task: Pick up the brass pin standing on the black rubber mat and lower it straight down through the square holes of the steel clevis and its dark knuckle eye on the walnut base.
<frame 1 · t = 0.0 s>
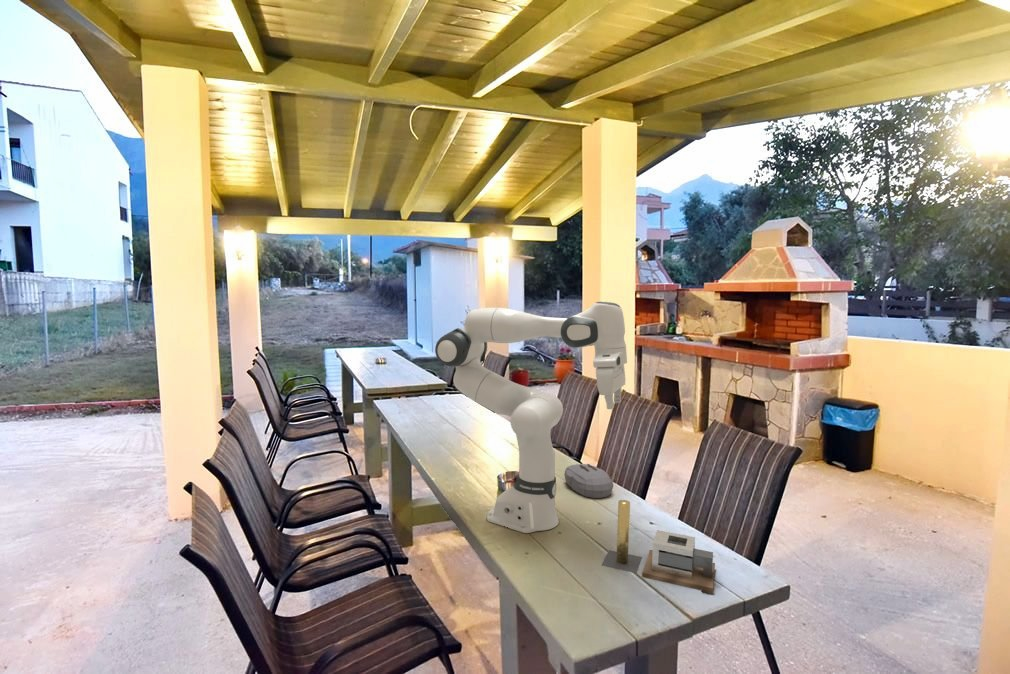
hand: (614, 405, 150), 39 cm above the table, tool pointing down, fingers open, 8 cm apart
walnut base: (675, 572, 134), on the table
brass pin: (623, 531, 137), on the rubber mat
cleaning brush: (589, 490, 191), on the table
rubber mat: (622, 562, 138), on the table
steel clevis: (682, 555, 133), on the walnut base, point 5 cm above the table
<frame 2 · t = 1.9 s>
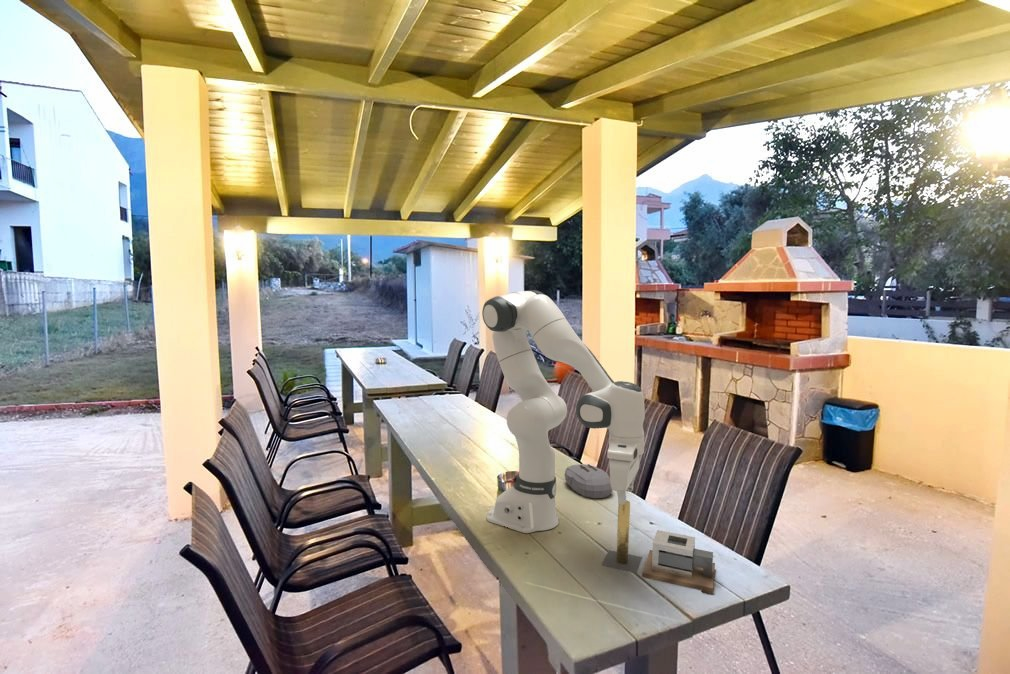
hand: (625, 496, 137), 18 cm above the table, tool pointing down, fingers open, 8 cm apart
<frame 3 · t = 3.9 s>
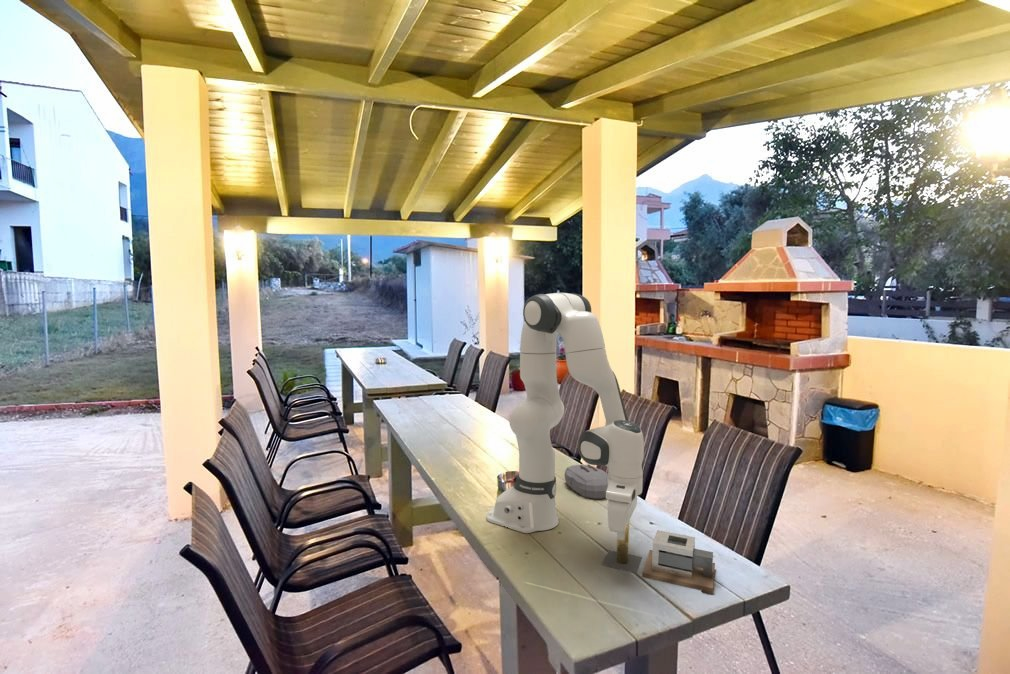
hand: (623, 535, 138), 8 cm above the table, tool pointing down, fingers closed on brass pin, 3 cm apart
brass pin: (623, 531, 138), on the rubber mat, touching gripper
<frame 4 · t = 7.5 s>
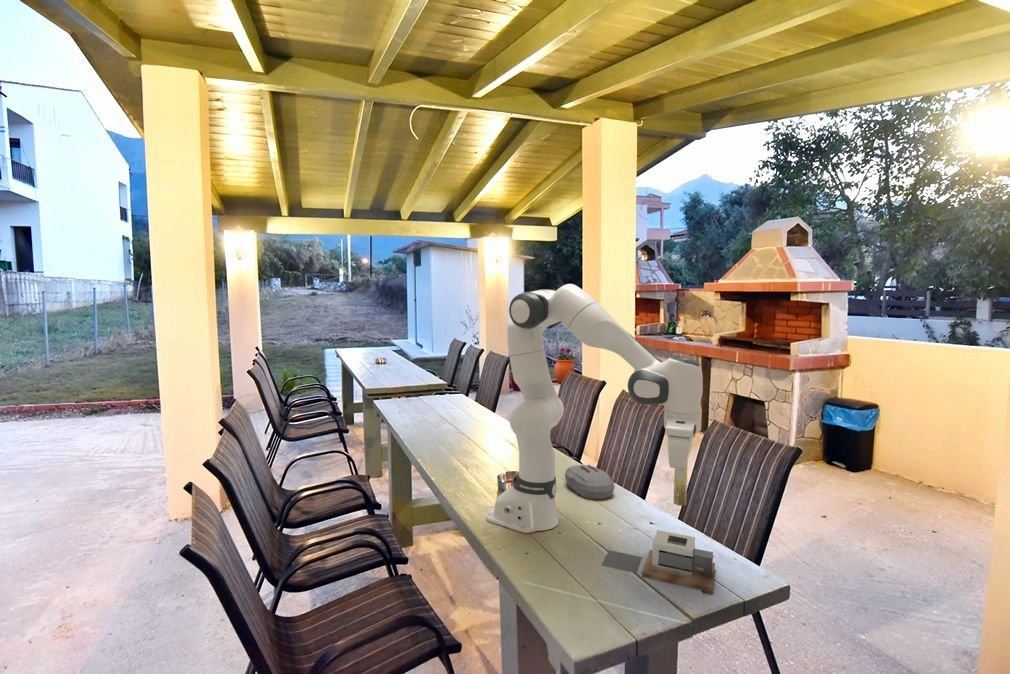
hand: (680, 475, 132), 25 cm above the table, tool pointing down, fingers closed on brass pin, 3 cm apart
brass pin: (680, 472, 132), point 26 cm above the table, touching gripper
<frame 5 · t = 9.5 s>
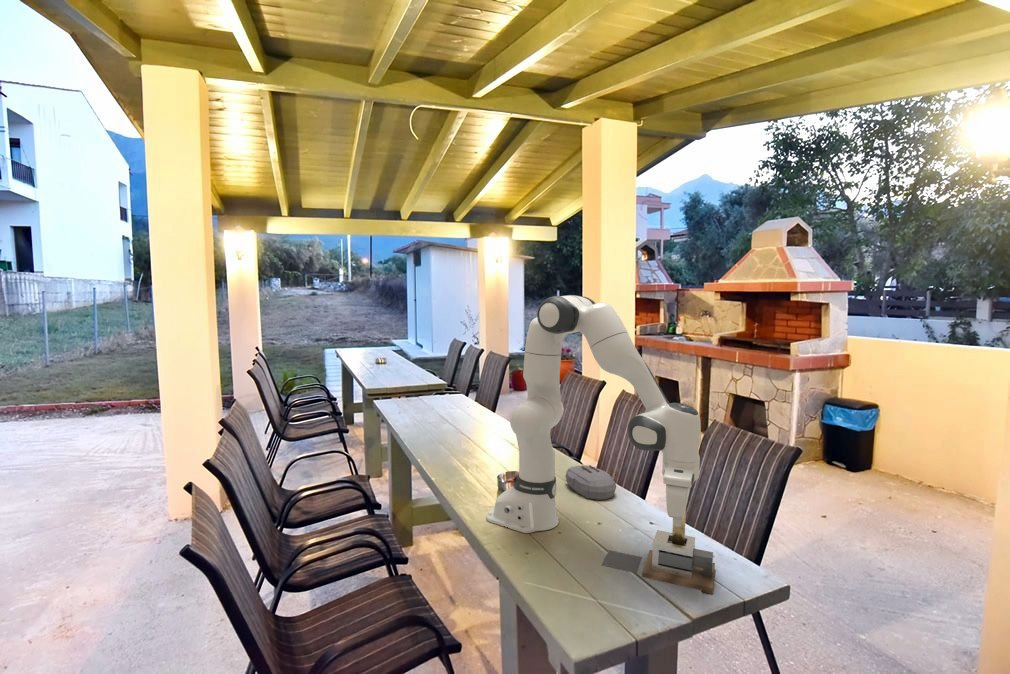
hand: (678, 522, 133), 13 cm above the table, tool pointing down, fingers closed on brass pin, 3 cm apart
brass pin: (679, 518, 132), point 14 cm above the table, touching gripper
when the fingers open (10 cm above the table, at t = 11.3 s): brass pin stays where it is, resting on walnut base.
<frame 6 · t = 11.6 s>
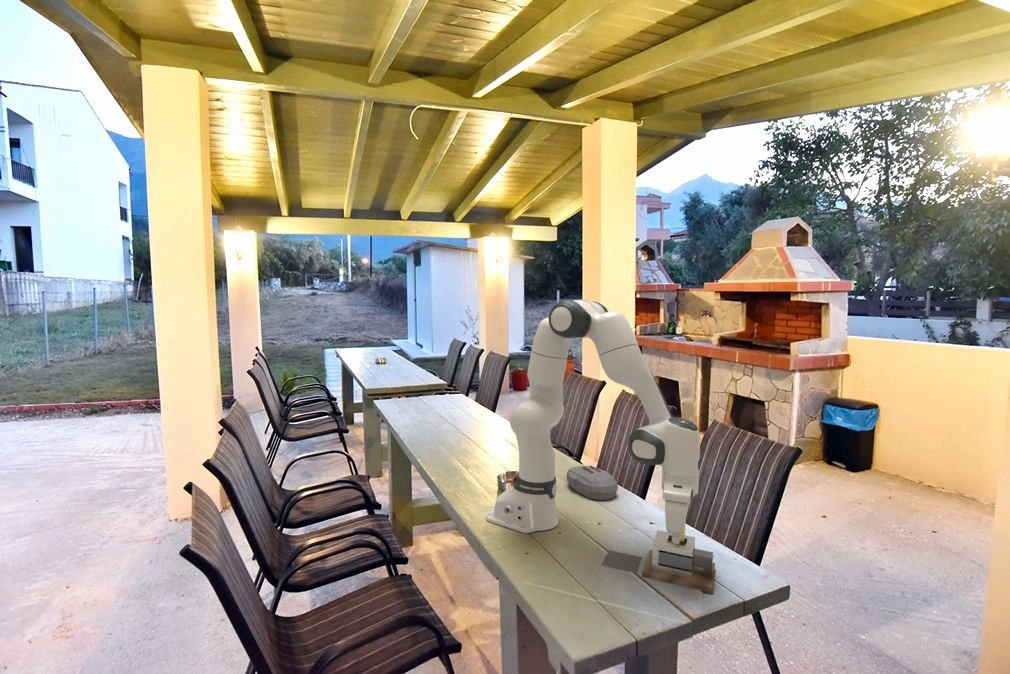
hand: (677, 536, 133), 10 cm above the table, tool pointing down, fingers open, 6 cm apart
brass pin: (678, 536, 133), in the steel clevis, point 10 cm above the table, touching walnut base
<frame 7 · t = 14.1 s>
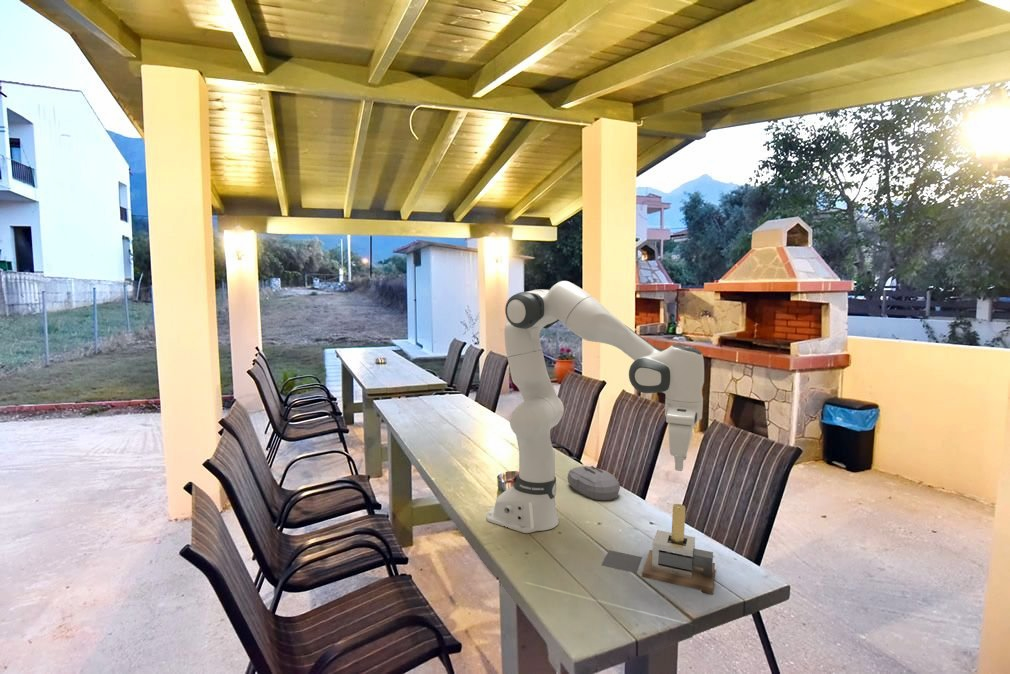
hand: (680, 464, 131), 28 cm above the table, tool pointing down, fingers open, 8 cm apart
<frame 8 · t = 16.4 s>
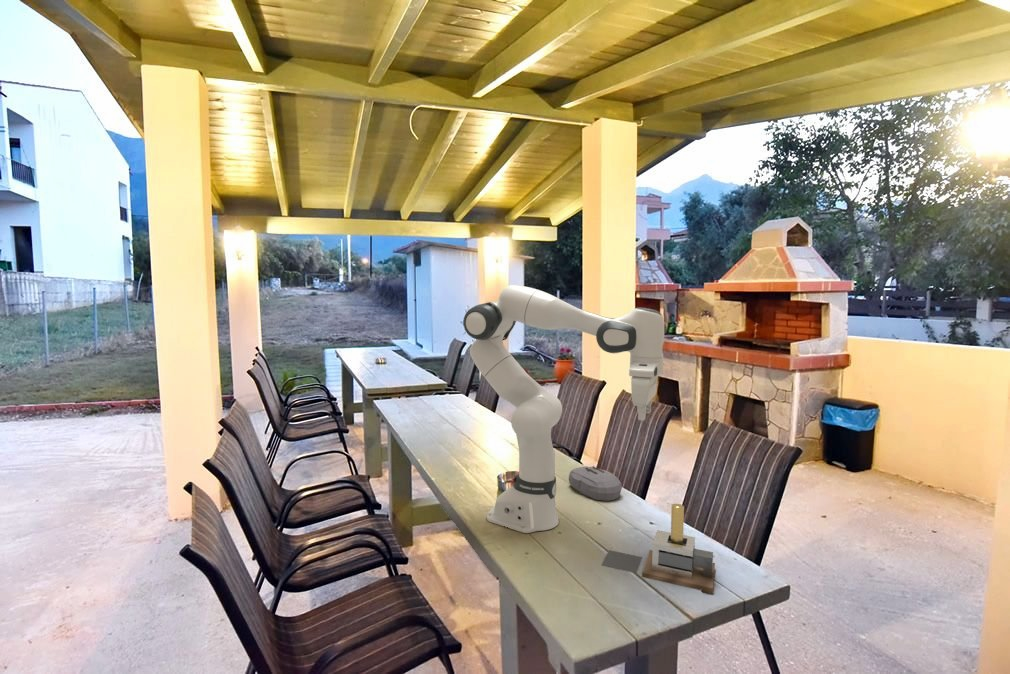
hand: (644, 416, 145), 37 cm above the table, tool pointing down, fingers open, 8 cm apart
at the end: brass pin 0.0 cm off-centre on the steel clevis, point 9.5 cm above the steel clevis's base; brass pin tilted 1°; the gripper is holding nothing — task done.
